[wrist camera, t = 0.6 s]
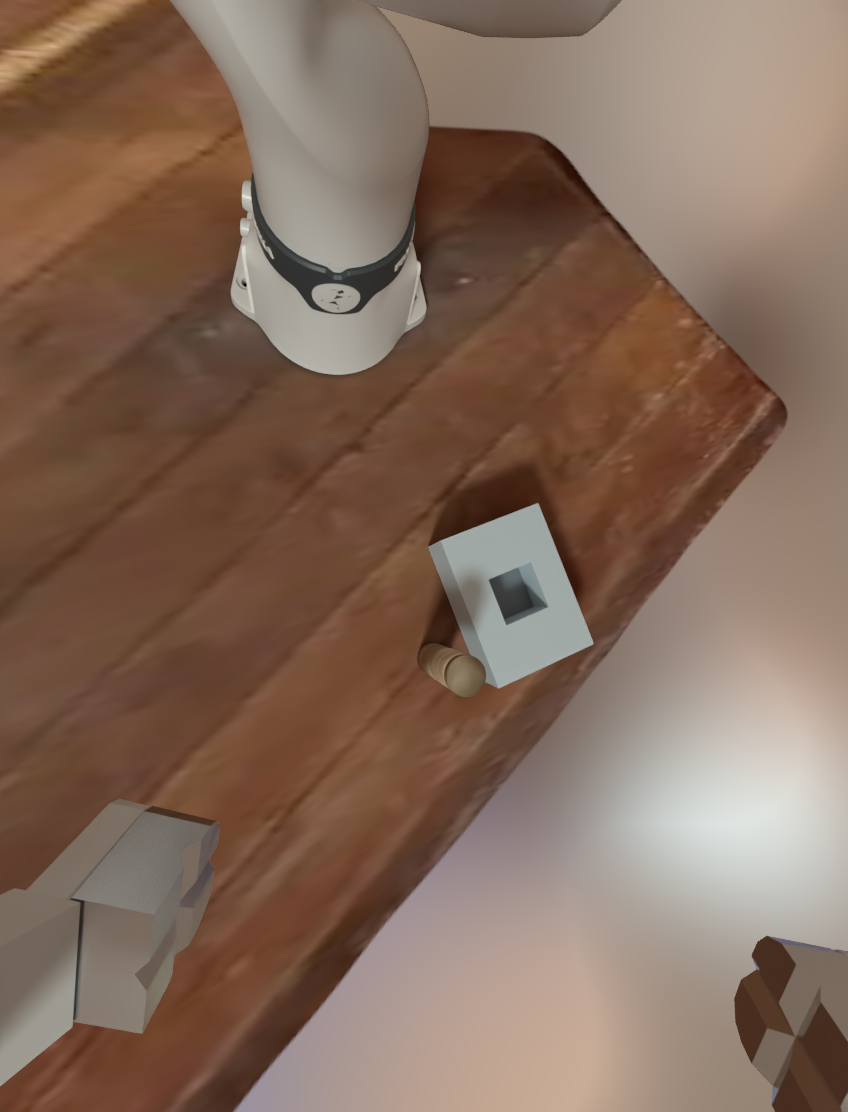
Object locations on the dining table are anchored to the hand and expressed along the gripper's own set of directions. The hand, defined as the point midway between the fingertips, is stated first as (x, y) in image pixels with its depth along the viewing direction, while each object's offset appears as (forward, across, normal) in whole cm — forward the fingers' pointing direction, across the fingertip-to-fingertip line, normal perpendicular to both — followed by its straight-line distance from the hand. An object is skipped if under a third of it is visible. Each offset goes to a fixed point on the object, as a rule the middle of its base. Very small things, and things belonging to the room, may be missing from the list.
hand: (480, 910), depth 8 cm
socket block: (+44, -6, +7) cm, 45 cm away
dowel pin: (+40, -1, +14) cm, 42 cm away
